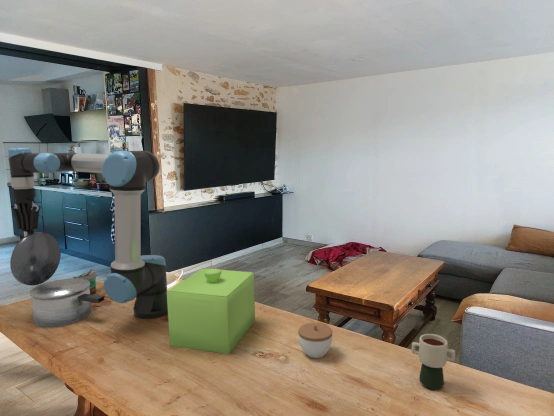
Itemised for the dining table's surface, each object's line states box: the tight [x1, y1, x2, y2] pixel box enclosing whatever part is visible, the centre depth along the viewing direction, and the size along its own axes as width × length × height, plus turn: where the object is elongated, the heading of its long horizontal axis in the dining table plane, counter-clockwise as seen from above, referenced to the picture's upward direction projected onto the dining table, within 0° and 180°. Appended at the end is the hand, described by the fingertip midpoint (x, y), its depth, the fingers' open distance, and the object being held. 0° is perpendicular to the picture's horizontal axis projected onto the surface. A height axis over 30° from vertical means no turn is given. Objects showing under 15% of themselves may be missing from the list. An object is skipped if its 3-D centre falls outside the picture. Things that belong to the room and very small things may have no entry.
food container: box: [72, 268, 98, 295], centre depth 176 cm, size 12×6×10 cm, turn 168°
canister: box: [167, 268, 256, 355], centre depth 136 cm, size 25×21×23 cm
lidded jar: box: [297, 322, 333, 359], centre depth 122 cm, size 11×11×9 cm
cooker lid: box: [9, 231, 62, 287], centre depth 154 cm, size 21×21×4 cm
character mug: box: [411, 333, 456, 390], centre depth 105 cm, size 11×7×13 cm, turn 64°
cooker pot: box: [29, 277, 105, 328], centre depth 151 cm, size 31×21×12 cm
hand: (29, 246), depth 154 cm, fingers closed
